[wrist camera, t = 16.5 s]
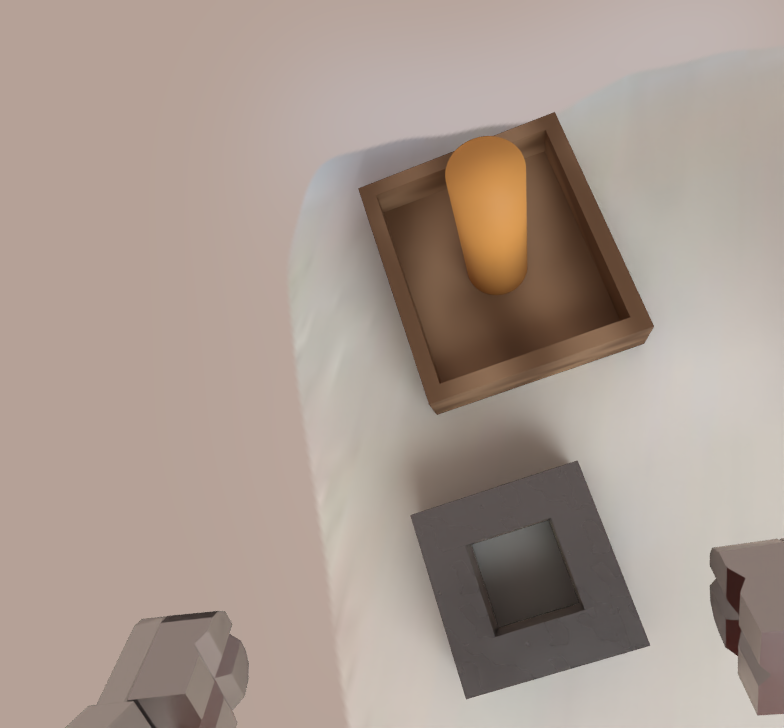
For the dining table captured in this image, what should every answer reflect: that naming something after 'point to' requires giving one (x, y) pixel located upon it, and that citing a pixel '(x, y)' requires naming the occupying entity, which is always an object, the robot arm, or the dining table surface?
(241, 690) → the robot arm
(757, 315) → the dining table surface
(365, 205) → the walnut tray
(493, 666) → the bracket
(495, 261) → the pin
